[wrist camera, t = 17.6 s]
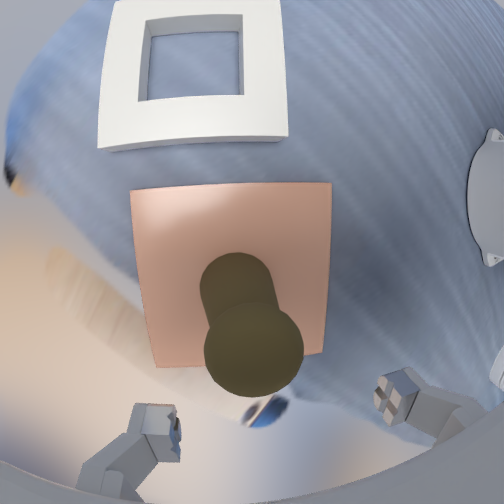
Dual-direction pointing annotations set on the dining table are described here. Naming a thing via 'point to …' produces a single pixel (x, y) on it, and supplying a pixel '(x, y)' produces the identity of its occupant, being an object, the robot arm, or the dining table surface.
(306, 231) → the terracotta tile
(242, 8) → the frame
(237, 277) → the olive pawn
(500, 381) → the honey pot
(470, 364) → the dining table surface
